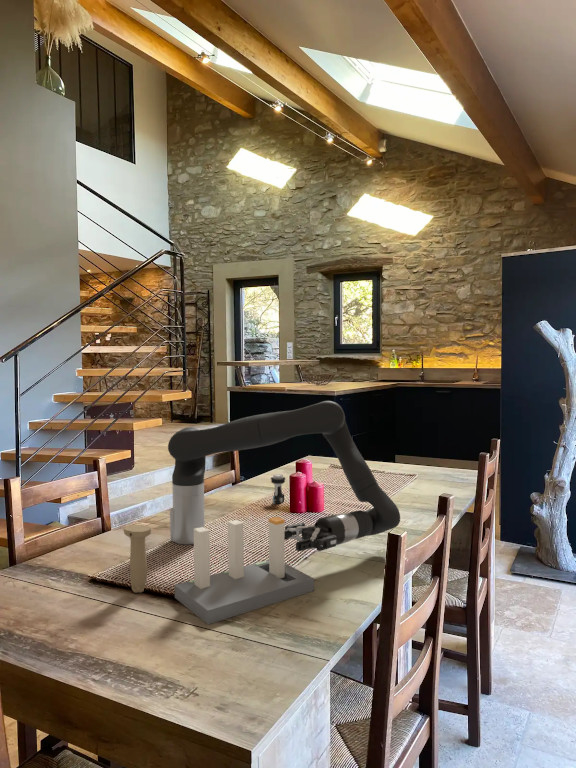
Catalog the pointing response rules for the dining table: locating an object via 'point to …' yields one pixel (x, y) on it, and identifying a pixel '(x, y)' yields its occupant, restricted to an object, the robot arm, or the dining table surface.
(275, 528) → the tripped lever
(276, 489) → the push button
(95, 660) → the dining table surface
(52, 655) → the dining table surface
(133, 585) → the handle
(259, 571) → the three peg stand
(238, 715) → the dining table surface
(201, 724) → the dining table surface
